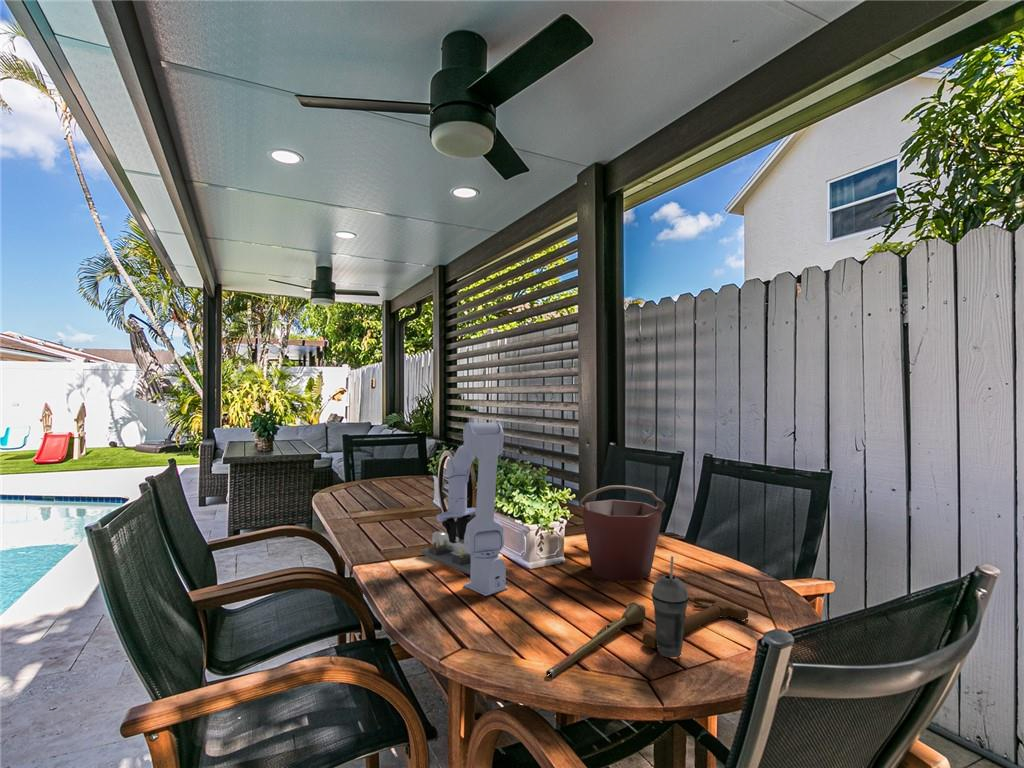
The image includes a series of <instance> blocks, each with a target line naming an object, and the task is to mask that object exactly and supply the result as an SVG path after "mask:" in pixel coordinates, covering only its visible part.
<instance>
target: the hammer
mask: <svg viewBox="0 0 1024 768" xmlns="http://www.w3.org/2000/svg"><path fill="white" fill-rule="evenodd" d="M693 602H701V603H706V604H704V605H703V604H693V608H697V607H701V608H700V609H704V610H701V611H698V612H695V613H692V614H690V615H688V616H685V623H684V635H686V634H689V633H690V632H692V631H694V630H696V629H698V628H699V627H701V626H703V625H704V624H707V623H708V622H711V621H714V620H717V619H719V618H721V617H720V616H722V617H724V616H733V617H736V618H737V620H738V619H740V620H744V619H746V618H749V612H748V610H747V609H746V608H742V607H737V606H735V604H732V603H730V602H727V601H723V600H721V599H717V598H712V597H711V598H709V597H693ZM707 604H712V605H707ZM706 608H707V609H706ZM733 617H732V618H733ZM716 618H717V619H716ZM724 618H725V617H724ZM736 618H735V619H736ZM713 619H714V620H713ZM740 620H739V621H740ZM697 627H698V628H697ZM695 628H696V629H695ZM642 644H643V645H644V644H645V645H647V646H650V647H652V648H654V649H656V648H658V647H657V638H656V629H654V630H652V631H650V632H646V633H644V634H643V635H642ZM645 645H644V646H645ZM655 647H656V648H655Z"/></svg>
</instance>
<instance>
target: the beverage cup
mask: <svg viewBox="0 0 1024 768" xmlns="http://www.w3.org/2000/svg"><path fill="white" fill-rule="evenodd" d="M669 566H670V570H669V571H670V572H669V574H668V575H663V576H661V577H659V578H658V579H657V580H656V581H655V583H654V584H653V587H652V592H651V594H650V595H651V597H652V598H651V599H652V604H653V609H654V623H655V630H656V638H657V646H658V647H657V653H658V652H659V653H660V654H661V655H663V656H665V657H679V656H680V655H681V656H682V652H683V651H682V649H683V642H684V635H685V634H684V623H685V617H686V613H687V612H686V611H687V609H688V608H687V607H688V602H689V599H690V598H689V594H688V590H687V588H686V586H685V584H684V582H683V581H682V580H681V579H680V578H679V577H677V576H674V574H673V573H674V571H673V570H674V556H672V555H671V556H670V565H669ZM683 634H684V635H683Z"/></svg>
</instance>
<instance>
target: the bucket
mask: <svg viewBox="0 0 1024 768" xmlns="http://www.w3.org/2000/svg"><path fill="white" fill-rule="evenodd" d="M608 490H609V491H610V490H630V491H636V492H640V493H643V494H646V495H650V498H651V499H652V500H653V501H654V502H655V503H657V506H654V505H651V504H649V503H646V502H641V501H633V500H632V501H631V500H620V499H606V500H605V499H604V500H596V501H587V500H588V498H591V497H593V496H596V495H597V494H599V493H603V492H606V491H608ZM586 501H587V502H586ZM584 502H585V503H584ZM583 503H584V505H583ZM666 506H667V504H666V503H665V502H664V500H662V499H660V498H658V497H657V496H656V495H655V494H654V492H653V491H652V490H649V489H645V488H641V487H637V486H631V485H621V484H620V485H617V484H615V485H607V486H604V487H600V488H598V489H595V490H593V491H591V492H588V493H587V494H585V496H583V498H581V500H579V503H578V507H579V508H580V509H581V510H582V513H583V514H582V522H583V527H584V532H585V537H586V544H587V550H588V554H589V555H588V556H589V561H590V567H591V572H592V574H593V575H595V576H598V577H600V578H603V579H606V580H609V581H612V582H640V581H642V580H643V579H645V578H646V577H648V576H649V575H651V571H652V568H653V564H654V558H655V553H656V549H657V544H658V540H659V535H660V528H661V526H662V525H661V524H662V522H663V521H662V519H663V518H662V515H663V514H662V513H663V512H664V511H665V508H666Z"/></svg>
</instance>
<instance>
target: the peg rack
mask: <svg viewBox="0 0 1024 768" xmlns="http://www.w3.org/2000/svg"><path fill="white" fill-rule="evenodd" d="M422 554H423V555H425V556H424V557H426V556H427V557H426V558H428V557H429V558H428V559H430V558H431V560H433V559H434V560H433V561H435V560H436V562H438V563H440V562H441V563H440V564H442V563H443V565H446V566H448V567H450V568H452V569H455V570H456V571H460V572H462V573H465V574H467V575H470V574H471V558H468V557H466V556H464V550H460V554H458V553H455V552H453V551H450V550H447V549H445V548H442V547H440V542H439V541H437V542H436V546H432V547H429V548H425V549H421V555H422ZM423 555H422V556H423Z"/></svg>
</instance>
